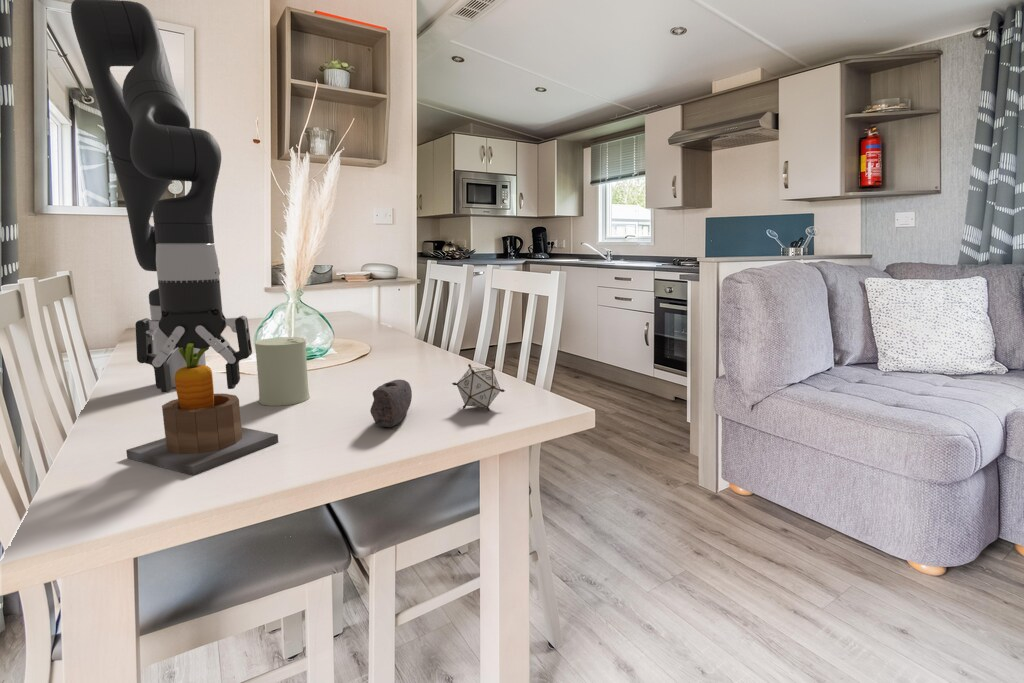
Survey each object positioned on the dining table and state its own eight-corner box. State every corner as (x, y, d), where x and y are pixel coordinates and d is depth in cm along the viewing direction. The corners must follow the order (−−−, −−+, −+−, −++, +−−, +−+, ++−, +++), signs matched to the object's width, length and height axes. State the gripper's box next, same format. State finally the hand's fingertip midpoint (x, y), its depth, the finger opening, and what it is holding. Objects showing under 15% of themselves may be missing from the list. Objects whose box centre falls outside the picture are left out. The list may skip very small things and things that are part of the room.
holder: (127, 458, 80) (121, 408, 79) (215, 429, 93) (211, 386, 91) (193, 475, 74) (187, 422, 73) (278, 441, 87) (275, 396, 85)
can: (292, 407, 105) (288, 343, 103) (248, 404, 107) (243, 341, 105) (318, 394, 114) (315, 335, 112) (277, 392, 116) (273, 334, 114)
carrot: (193, 436, 86) (180, 338, 82) (227, 434, 86) (215, 337, 83) (176, 448, 81) (161, 345, 78) (211, 447, 81) (198, 344, 78)
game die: (488, 425, 106) (520, 382, 106) (471, 422, 98) (505, 376, 98) (454, 397, 109) (485, 355, 109) (435, 391, 102) (468, 347, 101)
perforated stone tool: (394, 406, 106) (393, 370, 105) (422, 407, 105) (421, 371, 104) (364, 433, 91) (362, 391, 90) (396, 434, 90) (394, 391, 89)
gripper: (119, 279, 74) (134, 399, 77) (238, 277, 77) (248, 393, 80) (141, 275, 81) (153, 386, 84) (249, 274, 84) (257, 380, 87)
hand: (199, 389), depth 82 cm, fingers open, 8 cm apart
